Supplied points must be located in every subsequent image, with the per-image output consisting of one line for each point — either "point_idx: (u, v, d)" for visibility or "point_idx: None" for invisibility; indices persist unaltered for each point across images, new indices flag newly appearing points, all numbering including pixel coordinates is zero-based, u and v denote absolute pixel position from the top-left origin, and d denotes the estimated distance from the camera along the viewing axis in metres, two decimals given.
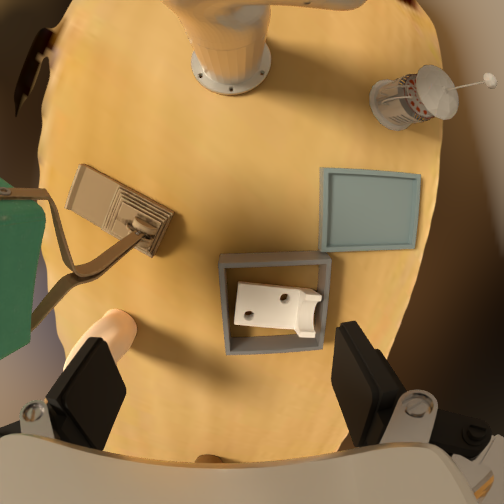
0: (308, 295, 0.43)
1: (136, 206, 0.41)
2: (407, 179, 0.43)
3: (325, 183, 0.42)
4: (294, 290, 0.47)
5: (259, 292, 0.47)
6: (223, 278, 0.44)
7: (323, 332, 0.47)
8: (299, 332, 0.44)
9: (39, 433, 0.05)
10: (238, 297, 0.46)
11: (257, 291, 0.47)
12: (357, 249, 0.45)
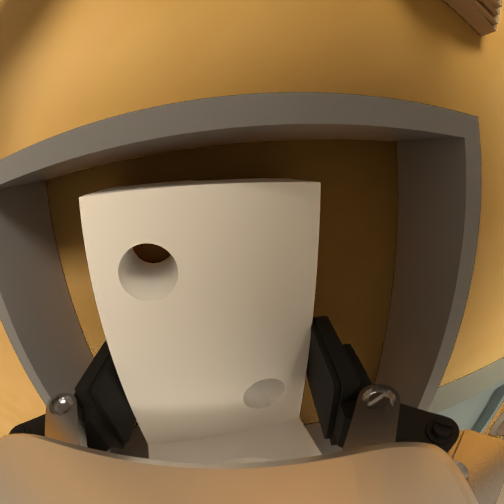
0: None
1: None
2: None
3: None
4: (296, 406, 0.11)
5: (286, 295, 0.09)
6: (422, 125, 0.06)
7: None
8: None
9: (64, 428, 0.05)
10: (247, 191, 0.08)
11: (287, 285, 0.09)
12: None
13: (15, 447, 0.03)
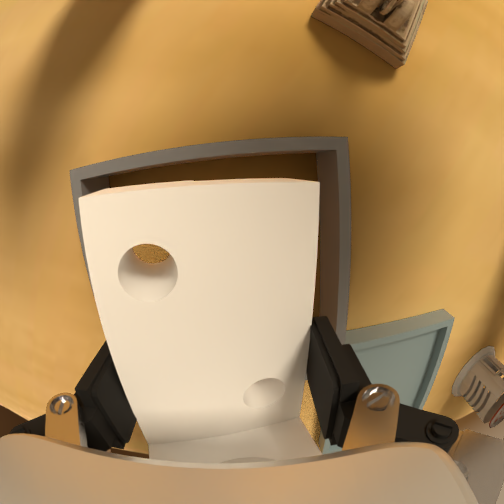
0: None
1: (417, 12, 0.13)
2: None
3: (437, 325, 0.23)
4: (296, 405, 0.11)
5: (285, 295, 0.09)
6: (308, 147, 0.15)
7: None
8: None
9: (64, 427, 0.05)
10: (246, 191, 0.08)
11: (287, 285, 0.09)
12: None
13: (15, 447, 0.03)
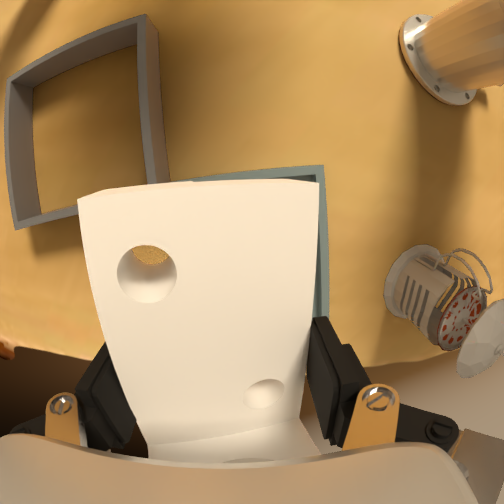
0: None
1: None
2: None
3: (296, 170, 0.23)
4: (296, 406, 0.11)
5: (285, 296, 0.09)
6: (120, 26, 0.17)
7: (36, 222, 0.21)
8: None
9: (64, 428, 0.05)
10: (245, 192, 0.08)
11: (287, 286, 0.09)
12: None
13: (15, 447, 0.03)
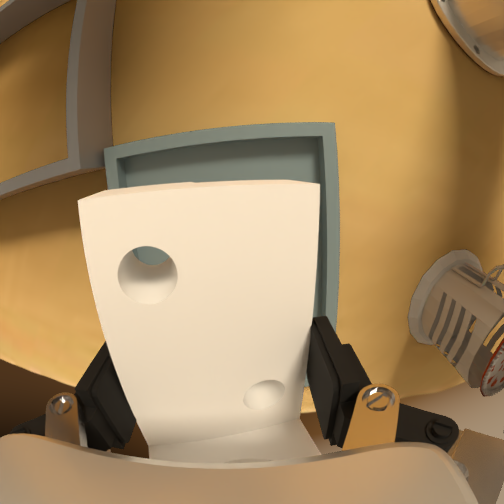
0: None
1: None
2: None
3: (293, 128, 0.14)
4: (296, 407, 0.11)
5: (285, 297, 0.09)
6: None
7: None
8: None
9: (64, 427, 0.05)
10: (246, 193, 0.08)
11: (287, 287, 0.09)
12: None
13: (15, 447, 0.03)
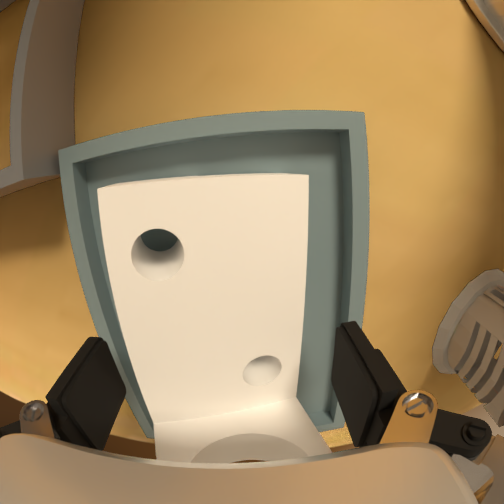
0: None
1: None
2: (326, 398, 0.16)
3: (309, 117, 0.10)
4: (293, 384, 0.12)
5: (280, 276, 0.10)
6: None
7: None
8: None
9: (39, 433, 0.05)
10: (244, 183, 0.09)
11: (281, 266, 0.10)
12: (84, 282, 0.12)
13: (15, 447, 0.03)
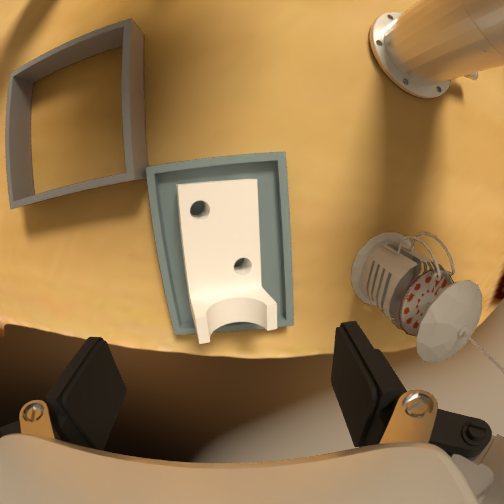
0: (275, 307, 0.24)
1: None
2: (281, 304, 0.31)
3: (259, 156, 0.26)
4: (258, 277, 0.28)
5: (247, 219, 0.26)
6: (109, 30, 0.19)
7: (29, 201, 0.23)
8: (202, 314, 0.23)
9: (39, 433, 0.05)
10: (231, 183, 0.24)
11: (247, 215, 0.26)
12: (156, 230, 0.27)
13: (15, 447, 0.03)
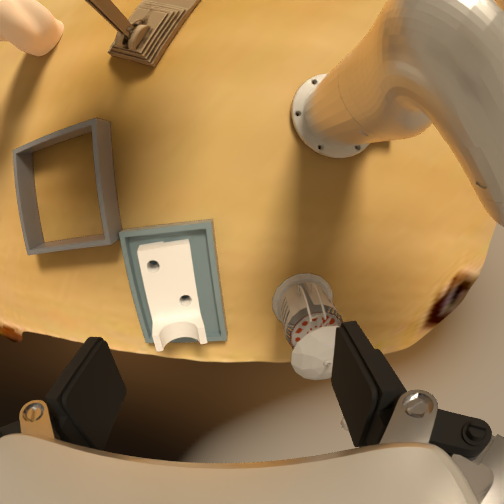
0: (203, 329, 0.36)
1: (161, 26, 0.27)
2: (218, 325, 0.43)
3: (193, 226, 0.37)
4: (197, 307, 0.39)
5: (185, 270, 0.37)
6: (81, 127, 0.30)
7: (42, 251, 0.35)
8: (157, 333, 0.35)
9: (39, 433, 0.05)
10: (172, 247, 0.36)
11: (185, 268, 0.37)
12: (128, 274, 0.39)
13: (15, 447, 0.03)
